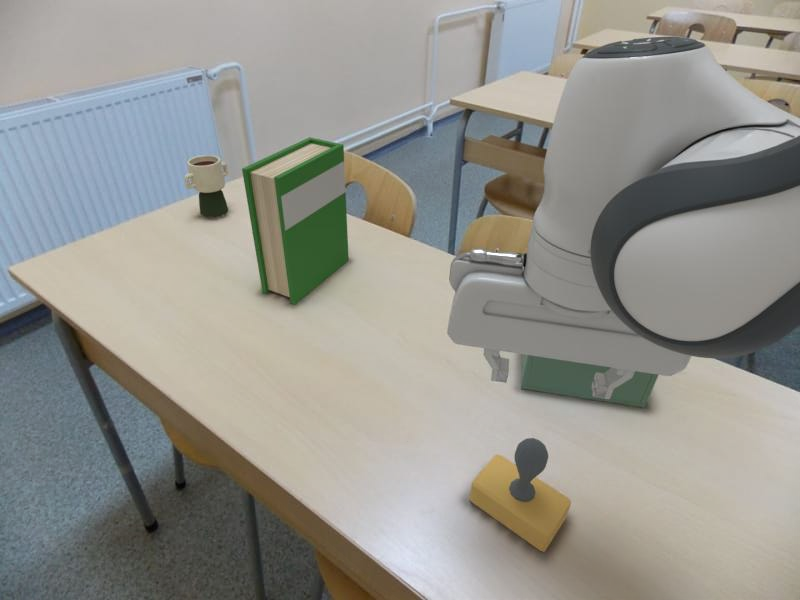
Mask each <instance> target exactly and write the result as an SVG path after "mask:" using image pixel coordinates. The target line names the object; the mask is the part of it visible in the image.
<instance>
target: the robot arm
mask: <svg viewBox="0 0 800 600" xmlns="http://www.w3.org/2000/svg"><path fill="white" fill-rule="evenodd" d="M558 102H559V103H558V105H557V108H556V111H555V115H554V119H553V123H552V127H551V131H550V135H549V139H548V142H547V143H548V144H547V148H546V152H545V157H544V162H543V178H544V179H543V181H544V182H543V183H544V187H543V188H544V190H543V194H542V198H541V199H540V202H539V205H538V206H537V208H536V210H535V211H534V214H533V215H534V216H533V219H532V222H531V230H530V233H529V238H528V243H527V248H526V252H525V253H521V252H511V251H495V250H493V251H492V250H488V249H485V248H479V247H478V248H476V247H475V248H470V251H466V252H465V251H464V252H461V253H459V254H458V255H456V256H455V257H454V258H453V259H452V261H451V262H450V268H449V269H450V270H449V276H448V277H449V278H448V280H449V284H450V286H451V288H452V290H453V291H454V294H453V295H454V296H453V299H452V303H451V308H450V313H449V318H448V323H447V329H446V331H447V332H446V334H447V336H448V337H449V338H450V340H451V341H452V342H453V343H454V344H455V345H460V346H466V347H473V348H479V349H483V357H484V358H485V360H486V362H487V364H488V366H490V368H491V375H490V381H491V382H497V383H503V384H507V381H508V377H509V372H510V366H509V365H510V358H506V357H502V356H501V354H500V352H506V353H512V354H519V355H521V354H525V355H532V356H538V357H545V358H552V359H558V360H565V361H572V362H578V363H585V364H591V365H598V366H605V367H611V368H610V369H609V370H608V371H606V372H605V373H598V372H596V373H595V376H594V380H593V382H592V391H593V393H592V395H593V397H598V398H603V399H610V398H611V395H612V392H613V390H614V388H617V387H618V386H620V385H621V384H623V383H625V382H626V381H628V380H629V379H631V378H632V377H633V375H634V373H635V371H638V372H644V373H651V374H658V376H664V377H672V376H675V375H677V374H678V373H681V372H683V371H684V370H685V369H686V368H688V365H689V363H690V361H691V358H692V357H695V358H702V359H731V358H739V357H742V356H747V355H751V354H753V353H757V352H760V351H762V350H764V349H766V348H769V347H770V346H772V345H774V344H775V343H777V342H779V341H780V340H782V339H784V338H785V337H787V335H789V334H790V333H792V332H793V331H794V330H796V329H797V328H798V327H799V326H800V117H797V116H796V115H795V114H794V115H793V114H791V113H789V112H788V111H786V110H783V109H781V108H779V107H778V106H776V105H774V104H772V103H771V102H768V101H767V100H765V99H763V98H761V97H760V96H759V95H758V94H755V93H754V92H752V91H751V90H750V89H748V88H747V87H746V86H744V85H743V84H742V83H741V82H739V81H738V80H737V79H736V78H734V76H732V75H731V74H729V72H728V71H727V70H726V69H725V68H723V66H722V65H721V64H720V63H719V62H718V60H717V59H716V57H715V55H714V54H713V52H712V50H711V49H710V47H709V46H708V45H707V44H705V43H704V42H702V41H699V40H697V39H694V38H689V37H680V36H654V37H641V38H634V39H631V40H623V41H622V40H619V41H613V42H610V43H607V44H604V45H602V46H601V45H600V46H599V47H596V48H593V49H592V50H590V51H589V52H587V53H585V54H584V55H583V56H582V57H580V59H578V60H576V62H575V64H574V66H573V67H572V69H571V71H570V73H569V75H568V77H567V80H566V82H565V84H564V86H563V89H562V93H561V95H560V99H559V101H558Z"/></svg>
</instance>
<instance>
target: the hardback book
mask: <svg viewBox="0 0 800 600" xmlns="http://www.w3.org/2000/svg"><path fill="white" fill-rule="evenodd" d="M344 149H345V147H344V144H342V143H339V142H338V143H337V142H333V141H329V140H325V139H320V138H314V137H311V136H310V137H309V136H308V137H307V138H305V139H302V140H300V141H298V142H296V143H294V144H292V145H290V146H288V147H286V148H283V149H281V150H279V151H277V152H274V153H273V154H270V155H269V156H265V157H264V158H262V159H259V160H257V161H255V162H253V163H251V164H249V165H246V166H244V167H242V169H241V170H242V177H243V183H244V190H245V194H246V195H245V196H246V201H247V207H248V213H249V219H250V225H251V231H252V237H253V243H254V249H255V256H256V261H257V267H258V268H257V269H258V275H259V279H260V286H261V291H262V294H265V295H268V294H270V293H271V292H274V293H276V294H280V295H282V296H285V297H288V298H289V302H290V304H292V305H296V304H297V303H299V302H300V301H301V300H302V299H304V298H305V297H306V296H307V295H308V294H310V293H311V292H312V291H313V290H314V289H316V288H317V287H318V286H320V284H322V283H323V282H324V281H325V280H327V279H328V278H329V277H330V276H332V275H333V274H334V273H335V272H337V271H338V270H339V269H340V268H341V267H342V266H344V265H345V264H346V263H348V261H350V259H349V237H348V216H347V193H346V191H347V190H346V169H345V150H344Z"/></svg>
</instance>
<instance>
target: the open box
mask: <svg viewBox="0 0 800 600" xmlns="http://www.w3.org/2000/svg"><path fill="white" fill-rule="evenodd" d="M520 357H521V359H520V389H522V390H526V391H527V390H528V391H535V392H539V393H547V394H554V395H561V396H567V397H572V398H579V399H585V400H592V401H599V402H604V403H611V404H616V405H617V404H618V405H623V406H629V407H636V408H644V409H645V408H646V405H647V404H648V400H649V398H650V395H651V393H652V391H653V389H654V387H655V384H656V382H657V380H658V377H659V375H658V374H651V373H644V372H638V371H635V373H634V375H633V377H632V378H631V379H629V380H628V381H626V382H625V383H623V384H621V385H620V386H618V387H617V388H614V390H613V392H612V395H611V398H610V399H603V398H598V397H593V395H592V393H593V391H592V382H593V380H594V376H595V373H596V372H598V373H605V372H606V371H608V370H609V369H610V368H611V367H605V366H598V365H591V364H585V363H578V362H572V361H565V360H558V359H552V358H545V357H538V356H532V355H525V354H520Z"/></svg>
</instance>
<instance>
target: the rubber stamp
mask: <svg viewBox="0 0 800 600" xmlns="http://www.w3.org/2000/svg"><path fill="white" fill-rule="evenodd" d="M513 457H514V462H512V461H510V460H509V459H507V458H506V457H504V456H503V455H501V454H498V453H496V454H494V456H493V457H492V458H491V459H490V460H489V462H487V464H485V466H484V467H483V469H482V470H481V471H480V472H479V473H478V474H477V475H476V477H475V478H474V479H473V480H472V481H471V488H470V493H469V501H470V502H471V503H472V504H473V505H475V506H477V507H478V508H479V509H480V510H482V511H484V512H485V513H487V515H489V516H491V517H492V518H493V519H495V520H496V521H498V522H499V523H501V524H502V525H503V526H505V528H507V529H508V530H510V531H511V532H513V533H515V534H516V535H517V536H519V537H520V538H522V539H523V540H524V541H526V542H527V543H528V544H530V545H531V546H533V547H534V548H535V549H537V550H538V551H540V552H543V553H545V552H546V550H547V549H548V548H549V546H550V544H551V543H552V541H553V540H554V538H555V536H556V535H557V533H558V531H559V530H560V528H561V527H562V525H563V524H564V522H565V520H566V518H567V516H568V513H569V510H570V507H571V505H572V500H571V499H570V498H569V497H568V496H566V495H565V494H563V493H561V492H560V491H558V490H556V489H555V488H553V487H552V486H550V485H548V484H547V483H545V482H544V481H542V480H541V479H539V478H537V477H538V476H539V475H540V474H541V473H542V472H544V470H545V469H546V467H547V464H548V461H549V452H548V449H547V447H546V445H545V444H544V443H543V442H542V441H541V440H540V439H537V438H534V437H530V438H529V437H527V438H525V439H523V440H522V441H520V442H519V443H518V444H517V447H516V449H515V451H514V456H513Z"/></svg>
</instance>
